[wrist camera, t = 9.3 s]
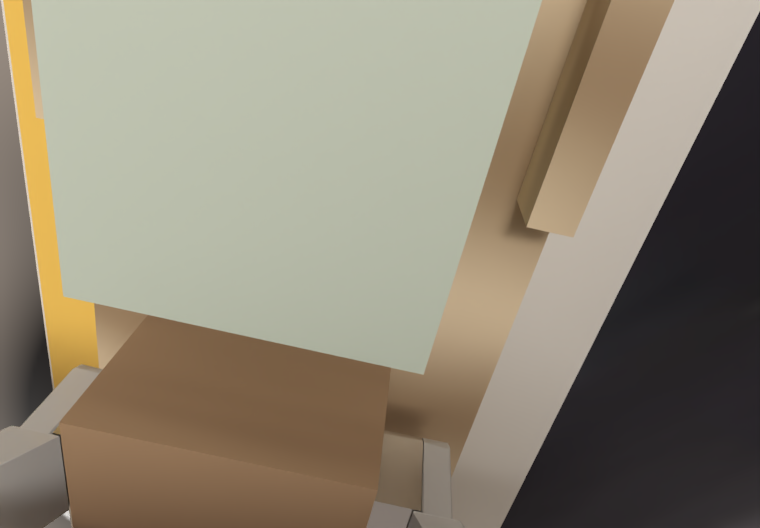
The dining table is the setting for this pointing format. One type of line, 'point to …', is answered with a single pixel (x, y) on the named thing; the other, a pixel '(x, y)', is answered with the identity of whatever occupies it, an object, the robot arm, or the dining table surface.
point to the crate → (276, 159)
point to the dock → (551, 275)
